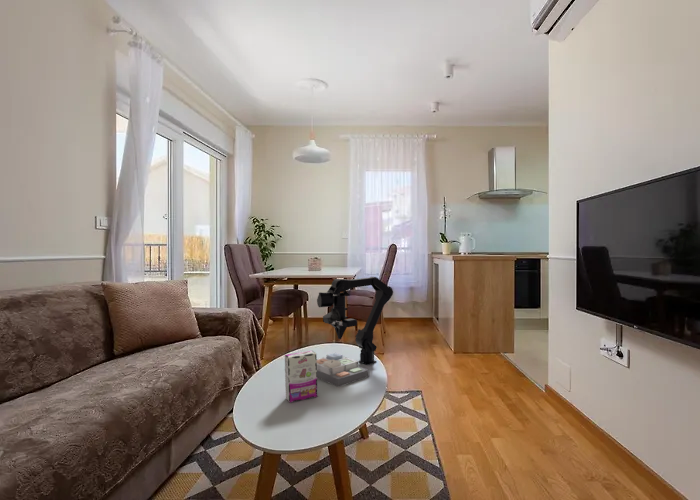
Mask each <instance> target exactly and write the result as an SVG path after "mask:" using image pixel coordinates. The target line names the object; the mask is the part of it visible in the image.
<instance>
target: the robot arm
mask: <svg viewBox="0 0 700 500" xmlns="http://www.w3.org/2000/svg"><path fill="white" fill-rule="evenodd" d="M368 286H371V287H372V289H374V291H375V301H374V304H373V306H372V308H371V310H370V313H369V315H368V318H367V320H366V322H365V324H364V326H363V328H362V329H358V330H357V333H356V335H355V344H356V345H357V346H358V348H359V349H360V354H359V360H357V361H358V363H360V364H363V365H367V366H368V365H371V364H372V365H373V364H374V363H377V360H375V352H376V351H377V348H378V347H377V345H375V343H374V342H373V340H374V330H375V327H376V326H377V323H378V320H379V319H380V316H381V315H382V312H383V309H384V307H385V305H386V304H387V303H388V302H389V301H390V299H391V298H392V296H393V294H394V291H393V288H392V287H391V286H388V285H387V284H386V283H385V282H383V281H381V280H380V279H379V278H378V277H377V276H370V277H362V278H355V279H345V278H335V279H333V280H332V282H331V286H330V287H329V289H328V290H327V291H326V292H318V295H317V299H316V303H317V306H318V308H328V307H331V309H330V311H329V312H328V313H326V314H325V315H323V316H322V322H324V324H328V325H330V326H332V328H334V330H335V333H336V336H337V340H342V337H343V336H344V334H345V332H346V329H347V328H351V327H356V326H358V321H357V319H356V318H355V319H354V318H349V317H348V316H346V313H347V311H348V307H346V304H347V303H346V297H350V295H351V294H350V293H349V292H348V291H349V290H351V289H354V288H361V287H362V288H363V287H368ZM332 306H333V307H332Z"/></svg>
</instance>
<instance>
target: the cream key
mask: <svg viewBox="0 0 700 500" xmlns="http://www.w3.org/2000/svg"><path fill="white" fill-rule="evenodd" d="M340 365H341V362H339V361H336V360H334V359H332V360H328V361H325V362H324V366H327V367H330V368H333V367H336V366H340Z"/></svg>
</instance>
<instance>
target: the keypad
mask: <svg viewBox="0 0 700 500" xmlns="http://www.w3.org/2000/svg"><path fill="white" fill-rule="evenodd" d="M321 359H325V360H330V359H327V356H323V357H320V358H317V360H321ZM344 359H347V360H350V361H353V362H351V363H347V364H342V363H341V365H340V366H336V367H333V368H330V367H327V366H324V363H323V364H319V363H317V379H318V380H321V381H324V382H326V383H328V384H331V385H332V386H336V387H341V386H344V385H348V384H352V383H354V382H357V381H360V380H363V379H366V378H368V377H370V376H369V369H368V368H365V367H362V366H359V362H358V361H359V360H355V359H352V358H349V357H345V356H343V358H342V359H338V360H336V361H340V360H344Z"/></svg>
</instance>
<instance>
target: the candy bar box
mask: <svg viewBox="0 0 700 500" xmlns="http://www.w3.org/2000/svg"><path fill="white" fill-rule="evenodd" d="M317 359H318V358H317V353H316V352H315V351H314V350H307V351H301V352H295V353H287V354H284V374H285V375H284V379H285V380H284V381H285V382H284V383H285V385H284V386H285V399H286V400H287V401H288V402H289V403H294V402H299V401H304V399H305V400H309V399H314V398H318V378H317Z"/></svg>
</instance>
